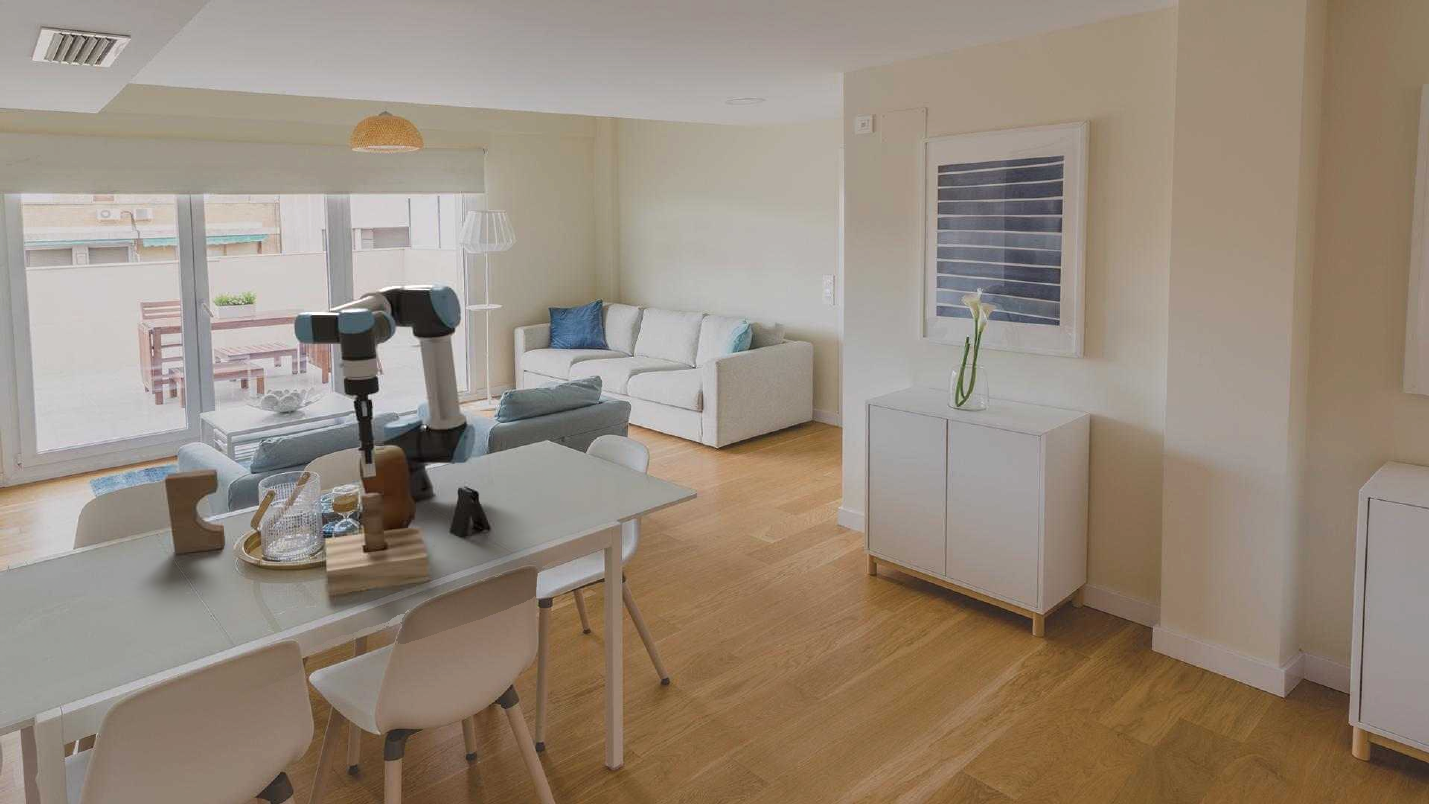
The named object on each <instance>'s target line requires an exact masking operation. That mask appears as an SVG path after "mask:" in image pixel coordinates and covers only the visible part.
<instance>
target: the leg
mask: <svg viewBox="0 0 1429 804" xmlns="http://www.w3.org/2000/svg"><path fill="white" fill-rule="evenodd" d="M360 498H361V499H360V500H361V511H362V513H361V514H362V522H363V524H362V525H363V534H364V536H365V549H366V553H368V552H375V551H383V550H385V540H384V528H383V516H382V504H381V494H379V493H369V494H366V493H364V494H362V495H361V496H360Z"/></svg>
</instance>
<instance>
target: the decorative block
mask: <svg viewBox="0 0 1429 804" xmlns="http://www.w3.org/2000/svg"><path fill="white" fill-rule="evenodd" d="M164 483H165V490H166V491H165V493H166V499H167V504H168V505H167V506H168V511H169V512H168V513H169V520H170V527H171V534H172V541H173V542H172V543H173V550H174V554H175V555H176V554H178V555H184V554H183V553H185V554H192V552H193V553H200V552H199V551H201V552H207V551H214V550H216V549H217V550H223V548H224V546H225V544H226V537H225V530H224V529H225V528H224V526H223V524H214V523H210V522H208V521H206V520H205V519H203V518H202V517H201V516H200V515H199V512H198V509H197V506H198V505H197V504H199V502H200V501H201V500H203V499H204V498H205V497H206V496H208V495H212V494H215V493H216V492H217V491H218V488H219V480H218V471H217V469H215V468H214V469H206V470H205V469H204V470H203V469H202V470H196V471H194V470H193V471H183V472H173V473H168V474H167V476H166V477H165V480H164ZM217 550H216V551H217Z"/></svg>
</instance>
